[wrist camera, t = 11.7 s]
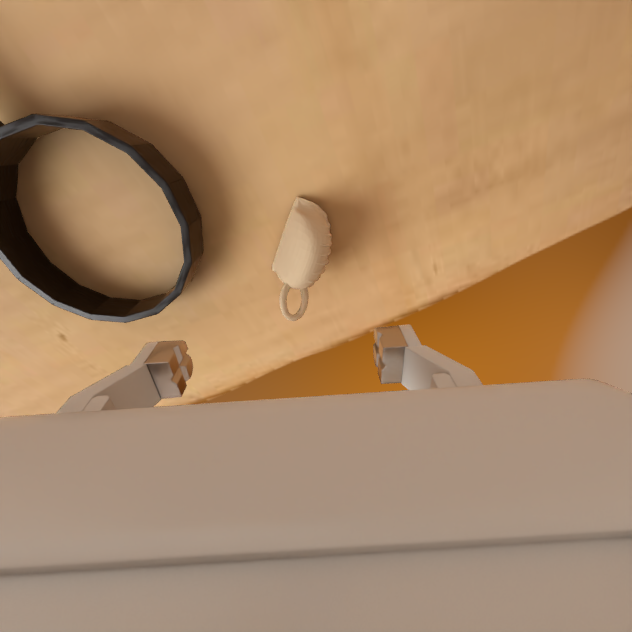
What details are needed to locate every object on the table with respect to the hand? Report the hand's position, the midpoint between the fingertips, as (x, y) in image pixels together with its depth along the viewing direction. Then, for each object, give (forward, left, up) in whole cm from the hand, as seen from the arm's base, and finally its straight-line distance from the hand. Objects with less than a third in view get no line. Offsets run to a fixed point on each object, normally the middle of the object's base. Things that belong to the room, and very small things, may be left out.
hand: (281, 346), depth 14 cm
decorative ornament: (0, -1, -16) cm, 16 cm away
